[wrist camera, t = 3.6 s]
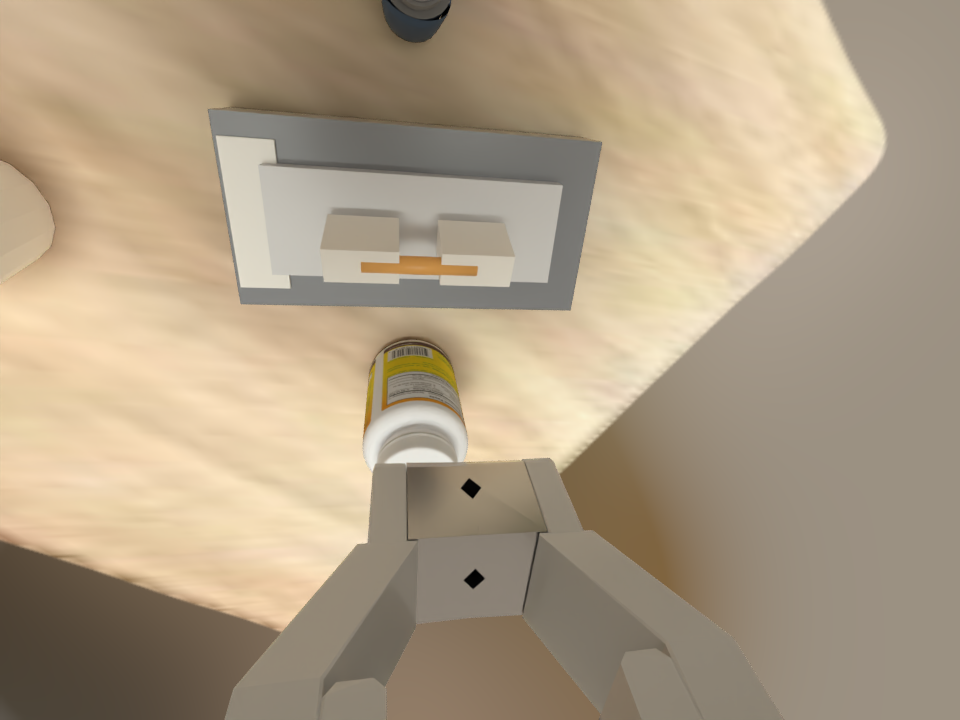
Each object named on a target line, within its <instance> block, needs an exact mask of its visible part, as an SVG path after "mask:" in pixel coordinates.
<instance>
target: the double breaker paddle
mask: <svg viewBox="0 0 960 720" xmlns="http://www.w3.org/2000/svg"><path fill="white" fill-rule="evenodd" d="M436 254H437V257H428V256H401V255H399V218H392V217H372V216H352V215H332V214H327V218H326V223H325V228H324V232H323V237H322V241H321V246H320V255H321V263H322V271H323V279H324V282H342V283H378V284H399V274H411V275H439V281H440V285H452V286H489V287H509V286H510V281H511V276H512V271H513V266H514V261H515V254H514V251H513V248H512V245H511V242H510V239H509V236H508V233H507V230H506V227H505V224H504V223H490V222H470V221H451V220H438V227H437V242H436Z"/></svg>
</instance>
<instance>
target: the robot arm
mask: <svg viewBox="0 0 960 720" xmlns="http://www.w3.org/2000/svg"><path fill="white" fill-rule="evenodd" d="M510 615H523V619H524V620H525V621H526V622H527V624H528V625H529V626H530V627H531V629H532V630H533V631H534V632H535V634H536V635H537V636H538V637H539V639H540V640H541V641H542V642H543V643H544V645H545V646H546V647H547V648H548V650H549V651H550V652H551V653H552V655H553V656H554V657H555V658H556V659H557V661H558V662H559V663H560V664H561V666H562V667H563V668H564V669H565V671H566V672H567V673H568V674H569V676H570V677H571V678H572V679H573V680H574V682H575V683H576V684H577V685H578V687H579V688H580V689H581V690H582V691H583V693H584V694H585V695H586V696H587V698H588V699H589V700H590V701H591V703H592V704H593V705H594V706H595V707H596V709H597V710H598V711H599V712H600V714H601V715H600V718H599V720H784V719H783V717H782V715H781V714H780V712H779V710H778V709H777V707H776V706H775V704H774V702H773V701H772V699H771V697H770V696H769V694H768V693H767V691H766V689H765V688H764V686H763V684H762V683H761V681H760V680H759V678H758V676H757V675H756V673H755V672H754V670H753V668H752V667H751V665H750V664H749V662H748V660H747V659H746V657H745V655H744V654H743V652H742V651H741V649H740V647H739V646H738V644H737V642H736V641H735V639H734V638H733V637H732V636H730V635H729V634H728V633H726V632H725V631H724V630H723V629H721V628H720V627H719V626H717V625H716V624H715V623H713V622H712V621H711V620H709V619H708V618H707V617H706V616H704V615H703V614H702V613H700V612H699V611H698V610H696V609H695V608H694V607H692V606H691V605H690V604H688V603H687V602H686V601H684V600H683V599H682V598H680V597H679V596H678V595H677V594H675V593H674V592H673V591H671V590H670V589H669V588H667V587H666V586H665V585H663V584H662V583H661V582H659V581H658V580H657V579H656V578H654V577H653V576H652V575H650V574H649V573H648V572H646V571H645V570H644V569H642V568H641V567H640V566H639V565H637V564H636V563H635V562H633V561H632V560H631V559H629V558H628V557H627V556H625V555H624V554H623V553H621V552H620V551H619V550H617V549H616V548H615V547H614V546H612V545H611V544H610V543H608V542H607V541H605V540H604V539H603V538H602V537H600V536H599V535H598V534H596V533H595V532H594V531H592V530H591V531H583V528H582V526H581V524H580V522H579V519H578V517H577V514H576V512H575V510H574V507H573V505H572V503H571V501H570V498H569V496H568V494H567V491H566V489H565V487H564V484H563V482H562V480H561V477H560V475H559V473H558V470H557V468H556V466H555V463H554V461H552V460H551V459H550V458H539V459H522V460H509V461H484V462H427V463H406V464H405V463H378V464H375V465H374V469H373V478H372V491H371V504H370V517H369V531H368V543H366V544H357V545H356V546H355V548H354V549H353V550H352V551H351V552H350V553H349V555H348V556H347V557H346V558H345V559H344V560H343V562H342V563H341V564H340V565H339V566H338V567H337V569H336V570H335V571H334V572H333V573H332V574H331V576H330V577H329V578H328V579H327V580H326V581H325V583H324V584H323V585H322V586H321V587H320V588H319V590H318V591H317V592H316V593H315V594H314V595H313V597H312V598H311V599H310V600H309V601H308V602H307V604H306V605H305V606H304V607H303V608H302V609H301V611H300V612H299V613H298V614H297V615H296V616H295V617H294V619H293V620H292V621H291V622H290V623H289V624H288V626H287V627H286V628H285V629H284V630H283V631H282V633H281V634H280V635H279V636H278V637H277V638H276V640H275V641H274V642H273V643H272V644H271V645H270V647H269V648H268V649H267V650H266V651H265V653H264V654H263V655H262V656H261V657H260V658H259V660H258V661H257V662H256V663H255V664H254V665H253V667H252V668H251V669H250V670H249V671H248V672H247V673H246V675H245V676H244V677H243V678H242V679H241V680H240V682H239V683H238V684H237V685H236V686H235V687H234V689H233V693H232V696H231V699H230V703H229V706H228V710H227V713H226V717H225V720H387V695H386V694H387V692H386V691H387V690H386V688H385V686H386V684H387V682H388V680H389V678H390V676H391V674H392V672H393V671H394V669H395V666H396V665H397V663H398V661H399V659H400V657H401V655H402V653H403V651H404V649H405V648H406V646H407V644H408V642H409V640H410V638H411V636H412V634H413V632H414V630H415V628H416V624H421V623H429V622H438V621H446V620H455V619H464V618H474V617H475V618H476V617H493V616H510Z"/></svg>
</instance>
